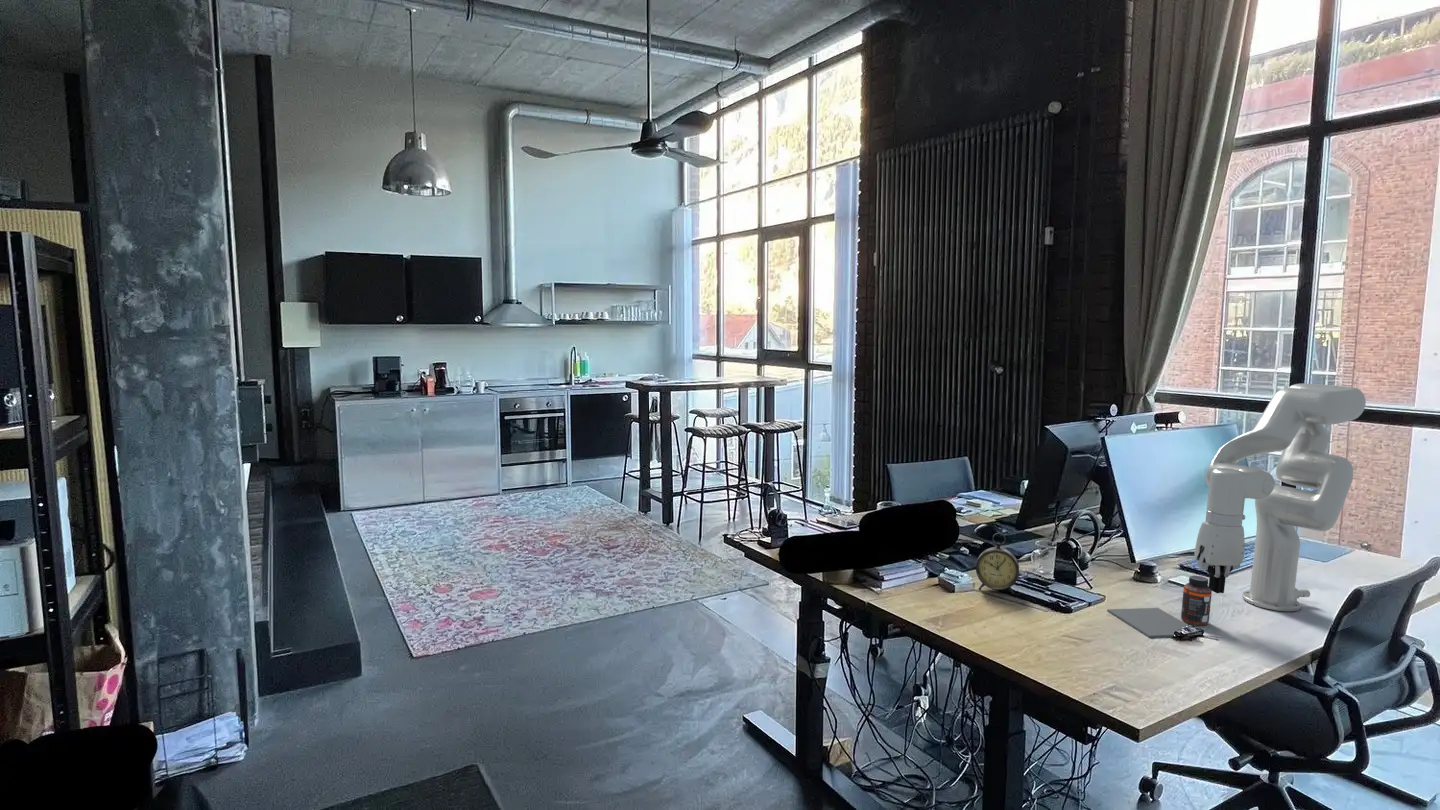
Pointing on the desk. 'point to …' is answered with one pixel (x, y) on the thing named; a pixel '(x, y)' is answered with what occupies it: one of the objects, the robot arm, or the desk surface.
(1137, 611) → the rubber mat
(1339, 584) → the desk surface
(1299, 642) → the desk surface
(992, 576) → the alarm clock
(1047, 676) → the desk surface
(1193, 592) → the supplement bottle
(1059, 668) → the desk surface
